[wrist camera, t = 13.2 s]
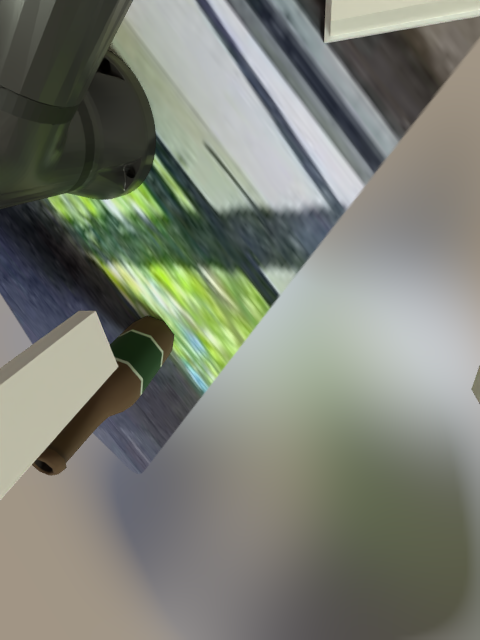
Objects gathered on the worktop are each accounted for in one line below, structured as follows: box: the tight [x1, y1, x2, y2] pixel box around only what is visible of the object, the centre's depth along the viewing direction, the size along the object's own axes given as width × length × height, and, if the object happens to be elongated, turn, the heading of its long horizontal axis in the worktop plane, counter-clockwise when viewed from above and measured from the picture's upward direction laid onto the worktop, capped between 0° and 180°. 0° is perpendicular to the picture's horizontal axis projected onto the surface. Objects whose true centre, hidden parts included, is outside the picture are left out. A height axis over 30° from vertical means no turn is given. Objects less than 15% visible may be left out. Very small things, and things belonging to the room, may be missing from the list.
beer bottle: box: [32, 316, 174, 475], centre depth 40 cm, size 8×8×24 cm
